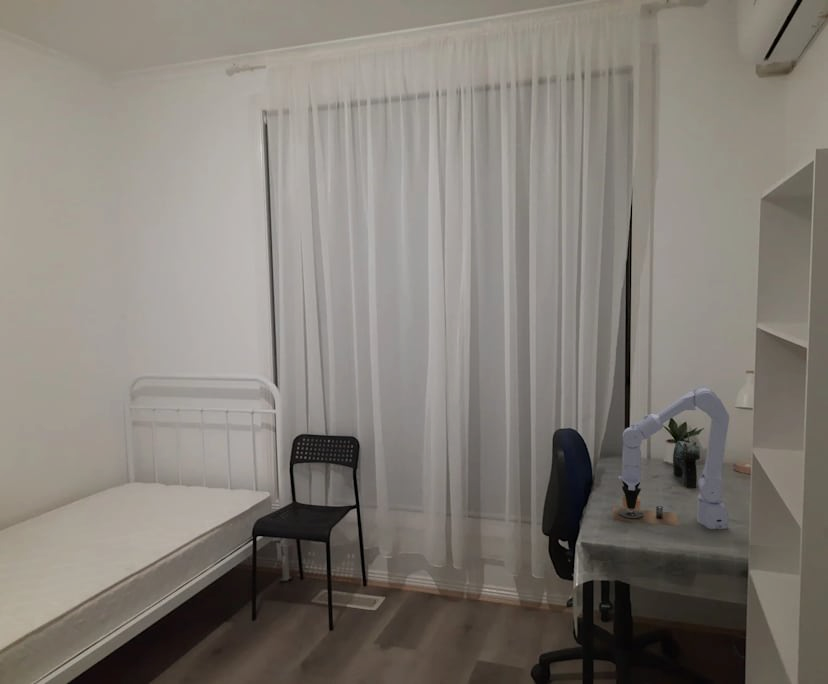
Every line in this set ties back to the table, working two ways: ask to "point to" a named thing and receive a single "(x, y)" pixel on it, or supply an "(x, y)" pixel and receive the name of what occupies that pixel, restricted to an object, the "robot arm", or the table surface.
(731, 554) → the table surface
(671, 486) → the table surface
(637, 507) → the collar
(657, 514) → the stand rod
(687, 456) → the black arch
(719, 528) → the robot arm
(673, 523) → the walnut board
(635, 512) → the hub
